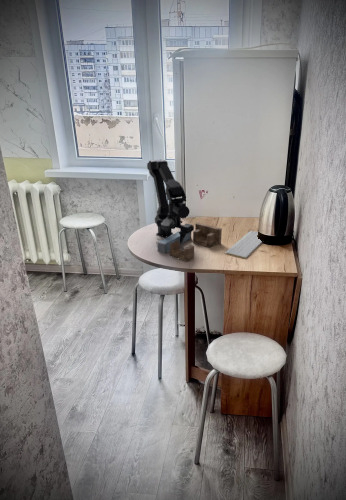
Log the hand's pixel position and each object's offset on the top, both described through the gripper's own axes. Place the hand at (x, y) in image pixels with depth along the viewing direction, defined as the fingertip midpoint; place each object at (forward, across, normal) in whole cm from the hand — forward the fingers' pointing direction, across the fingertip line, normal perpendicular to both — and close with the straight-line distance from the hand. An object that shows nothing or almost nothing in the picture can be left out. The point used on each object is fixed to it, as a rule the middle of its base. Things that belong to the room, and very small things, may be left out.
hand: (174, 241), depth 190 cm
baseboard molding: (+2, +28, +21) cm, 35 cm away
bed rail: (+2, 0, 0) cm, 2 cm away
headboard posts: (+2, +11, 0) cm, 11 cm away
